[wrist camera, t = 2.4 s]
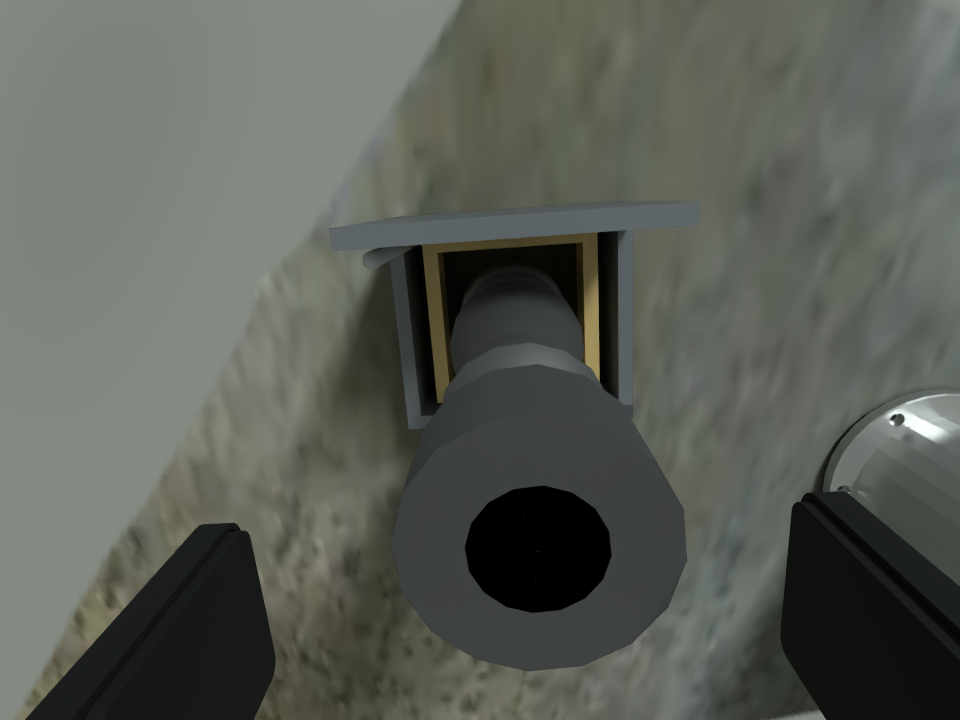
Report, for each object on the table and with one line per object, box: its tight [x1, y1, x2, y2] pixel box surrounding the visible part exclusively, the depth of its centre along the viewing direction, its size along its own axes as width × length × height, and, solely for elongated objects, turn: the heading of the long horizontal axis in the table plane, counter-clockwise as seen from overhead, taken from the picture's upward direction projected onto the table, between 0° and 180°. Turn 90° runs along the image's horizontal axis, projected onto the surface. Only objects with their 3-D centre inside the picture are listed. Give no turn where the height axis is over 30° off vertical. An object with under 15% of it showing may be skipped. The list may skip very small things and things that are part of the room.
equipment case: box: [329, 201, 699, 430], centre depth 28 cm, size 13×12×14 cm
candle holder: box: [391, 259, 687, 671], centre depth 23 cm, size 6×6×25 cm
